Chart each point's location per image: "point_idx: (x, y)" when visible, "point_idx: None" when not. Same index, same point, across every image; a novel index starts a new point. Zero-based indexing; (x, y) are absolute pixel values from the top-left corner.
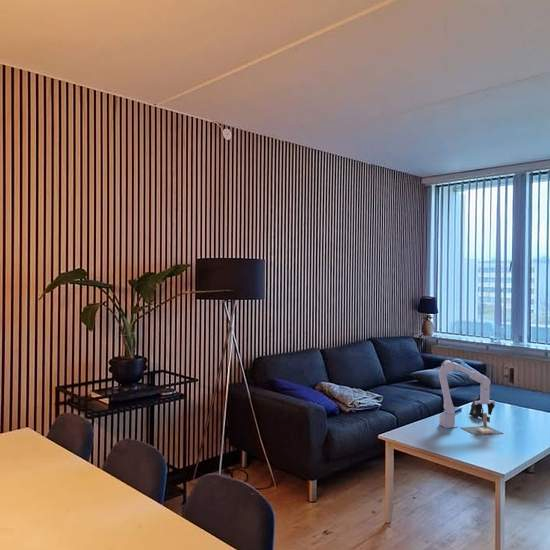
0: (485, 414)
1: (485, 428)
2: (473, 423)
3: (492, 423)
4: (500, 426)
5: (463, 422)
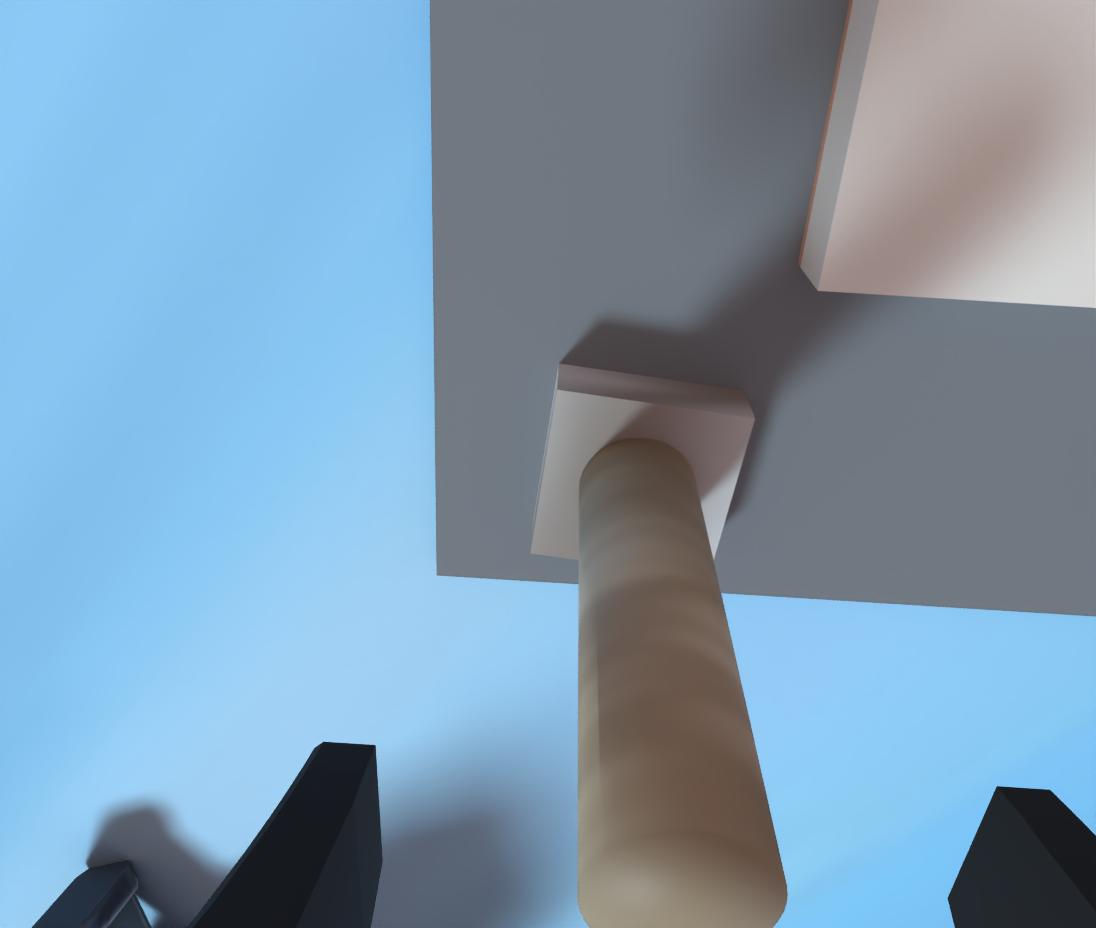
0: (727, 792)
1: (952, 165)
2: None
3: (116, 716)
4: (15, 469)
5: (799, 910)
